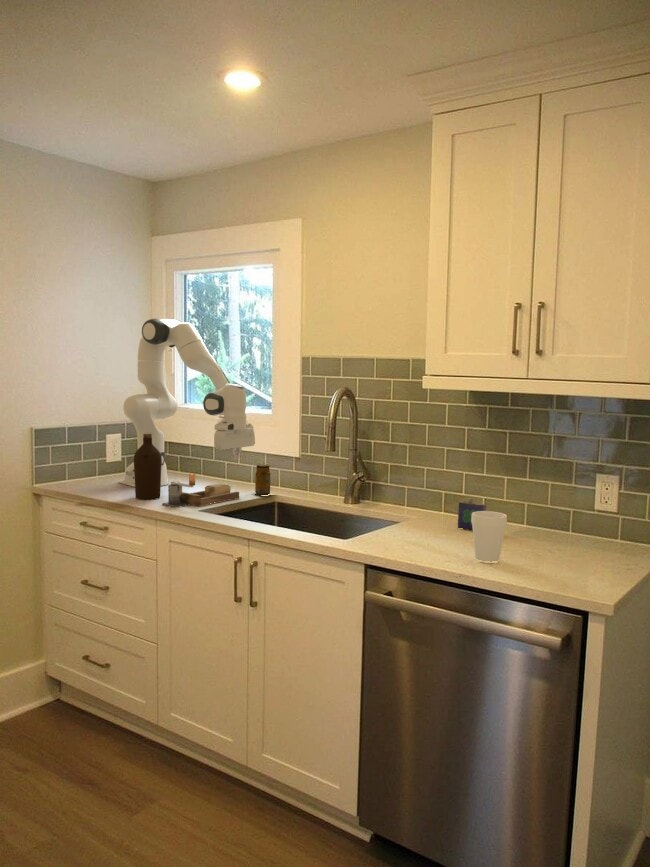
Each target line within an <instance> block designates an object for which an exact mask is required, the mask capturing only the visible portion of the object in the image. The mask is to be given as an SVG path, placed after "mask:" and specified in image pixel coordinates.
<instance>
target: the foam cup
mask: <svg viewBox="0 0 650 867" xmlns="http://www.w3.org/2000/svg"><path fill="white" fill-rule="evenodd" d="M507 520H508V515H507V514H505V513H503V512H500V511H498V512H497V511H491V510H486V511H476V512H473V513H472V516H471V522H472V528H473V531H472V538H473V546H474V548H473V549H474V558H475V560H476V559H478V560H482V561H490V562H492V561H498V560H499V561H500V559H501V558H500V557H501V554H502V547H503V543H504V535H505V532H506V531H505V530H506V525H507V524H508V523H507V522H508V521H507Z"/></svg>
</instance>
